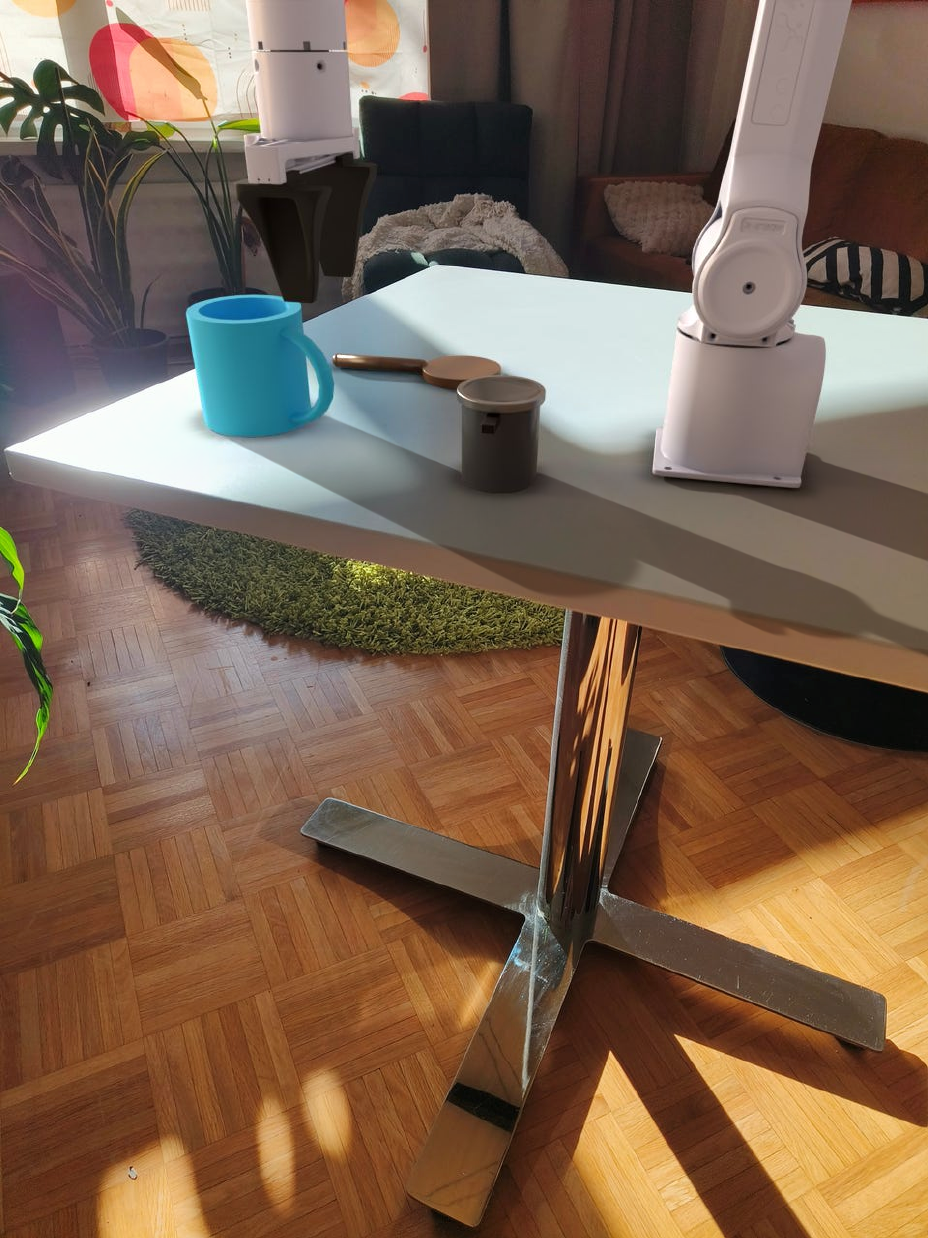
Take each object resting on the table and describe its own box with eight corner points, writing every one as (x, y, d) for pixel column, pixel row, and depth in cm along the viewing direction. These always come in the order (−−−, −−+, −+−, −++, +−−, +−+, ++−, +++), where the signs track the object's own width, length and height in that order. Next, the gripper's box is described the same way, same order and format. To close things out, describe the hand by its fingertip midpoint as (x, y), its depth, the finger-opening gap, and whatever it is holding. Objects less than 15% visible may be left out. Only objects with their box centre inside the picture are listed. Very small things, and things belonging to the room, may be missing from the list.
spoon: (506, 366, 77) (507, 353, 77) (492, 391, 72) (493, 377, 71) (345, 355, 80) (344, 342, 79) (320, 378, 74) (318, 364, 74)
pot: (546, 463, 59) (551, 378, 56) (530, 509, 53) (535, 416, 50) (466, 456, 60) (467, 371, 57) (442, 500, 54) (441, 409, 51)
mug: (181, 421, 66) (161, 311, 61) (259, 392, 71) (246, 289, 67) (297, 457, 60) (283, 339, 56) (371, 422, 66) (365, 312, 61)
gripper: (284, 50, 58) (304, 263, 66) (180, 51, 47) (219, 310, 54) (383, 51, 57) (392, 267, 65) (303, 52, 45) (325, 317, 53)
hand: (320, 287), depth 59 cm, fingers open, 7 cm apart
